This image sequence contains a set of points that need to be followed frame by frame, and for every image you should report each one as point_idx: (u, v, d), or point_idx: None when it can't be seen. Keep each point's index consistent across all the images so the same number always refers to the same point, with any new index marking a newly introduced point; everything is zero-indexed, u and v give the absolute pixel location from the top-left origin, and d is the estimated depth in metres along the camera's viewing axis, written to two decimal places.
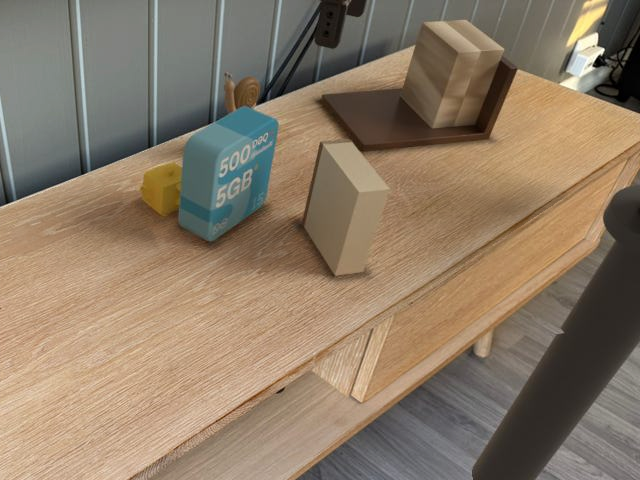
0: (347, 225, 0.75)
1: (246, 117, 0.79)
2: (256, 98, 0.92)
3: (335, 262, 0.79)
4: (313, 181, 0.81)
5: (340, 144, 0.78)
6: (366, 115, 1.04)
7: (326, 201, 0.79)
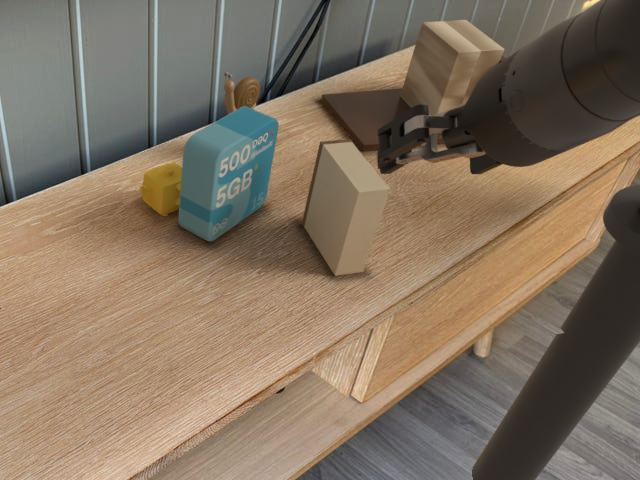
0: (347, 225, 0.75)
1: (246, 117, 0.79)
2: (256, 98, 0.92)
3: (335, 262, 0.79)
4: (313, 181, 0.81)
5: (340, 144, 0.78)
6: (366, 115, 1.04)
7: (326, 201, 0.79)
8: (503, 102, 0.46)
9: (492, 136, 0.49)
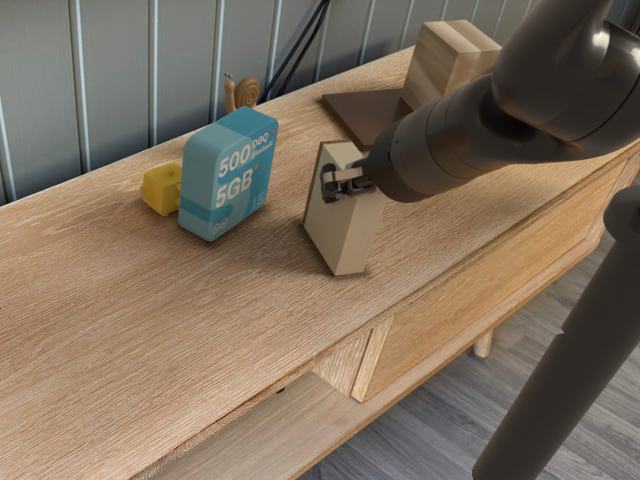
0: (347, 225, 0.75)
1: (246, 117, 0.79)
2: (256, 98, 0.92)
3: (335, 262, 0.79)
4: (313, 181, 0.81)
5: (340, 144, 0.78)
6: (366, 115, 1.04)
7: None
8: (391, 162, 0.61)
9: (387, 184, 0.64)
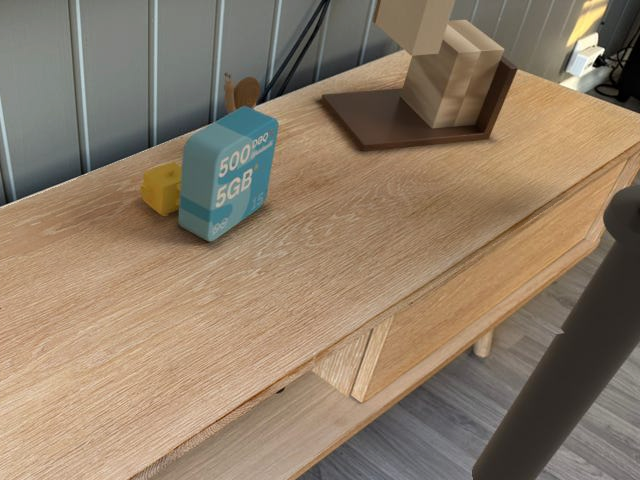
0: None
1: (246, 117, 0.79)
2: (256, 98, 0.92)
3: (412, 40, 0.81)
4: None
5: None
6: (366, 115, 1.04)
7: None
8: None
9: None
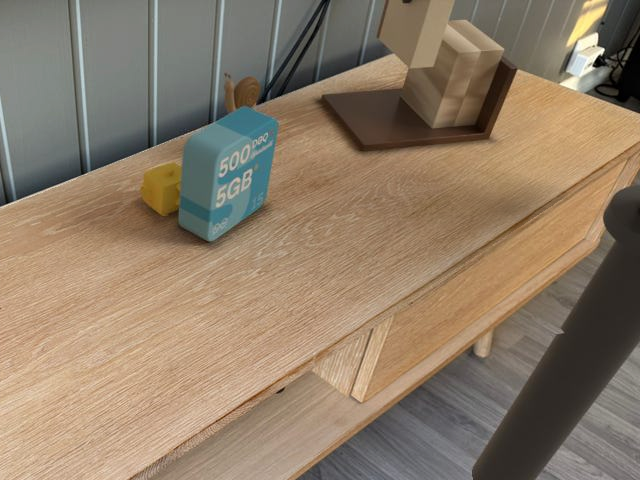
0: (423, 15, 0.89)
1: (246, 117, 0.79)
2: (256, 98, 0.92)
3: (411, 55, 0.93)
4: None
5: None
6: (366, 115, 1.04)
7: (402, 4, 0.93)
8: None
9: None
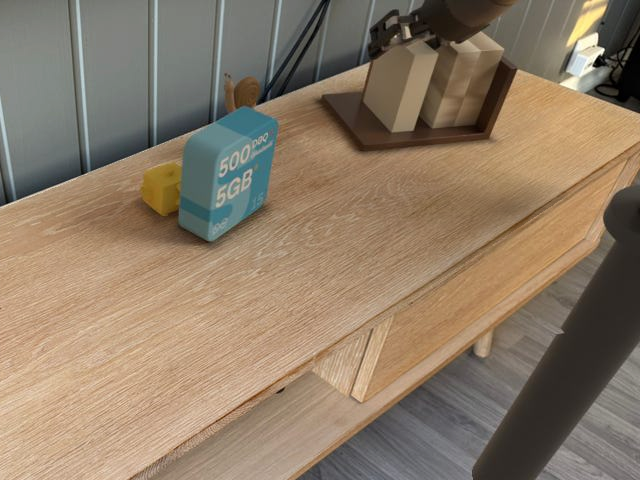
0: (403, 86, 0.96)
1: (246, 117, 0.79)
2: (256, 98, 0.92)
3: (392, 121, 1.00)
4: (372, 60, 1.02)
5: None
6: (366, 115, 1.04)
7: (384, 72, 1.00)
8: (444, 1, 0.81)
9: (439, 23, 0.83)
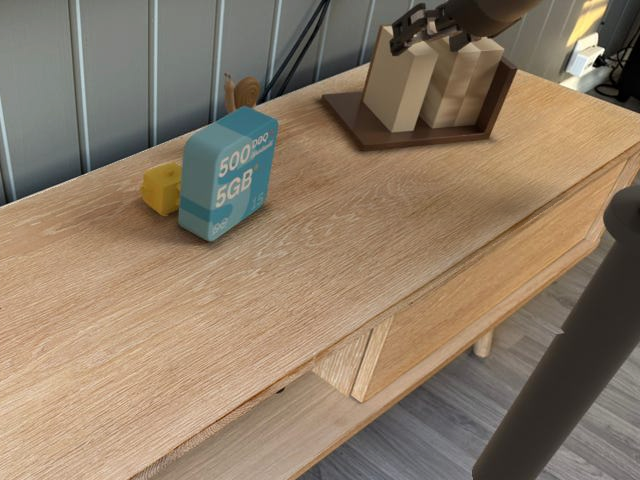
0: (403, 86, 0.96)
1: (246, 117, 0.79)
2: (256, 98, 0.92)
3: (392, 121, 1.00)
4: (372, 60, 1.02)
5: None
6: (366, 115, 1.04)
7: (384, 72, 1.00)
8: None
9: (467, 18, 0.80)
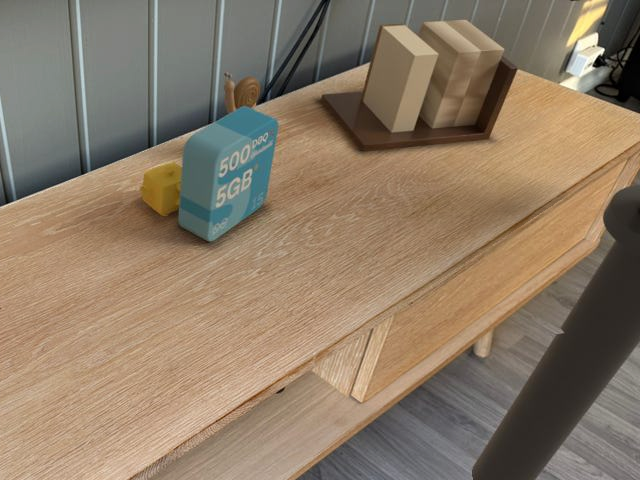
0: (403, 86, 0.96)
1: (246, 117, 0.79)
2: (256, 98, 0.92)
3: (392, 121, 1.00)
4: (372, 60, 1.02)
5: (396, 26, 0.99)
6: (366, 115, 1.04)
7: (384, 72, 1.00)
8: None
9: None
